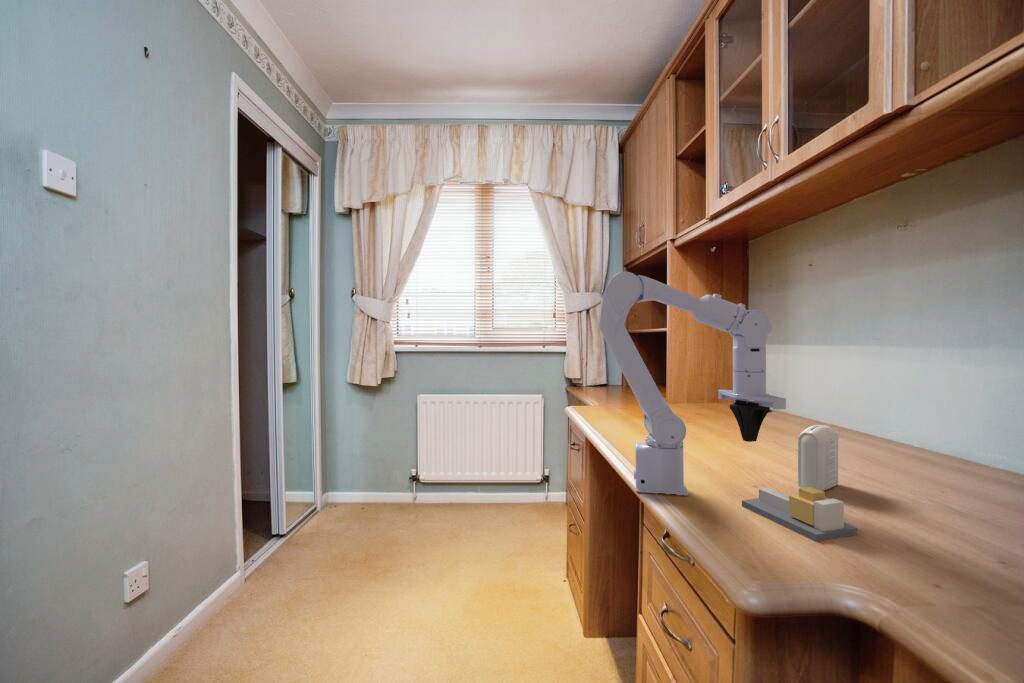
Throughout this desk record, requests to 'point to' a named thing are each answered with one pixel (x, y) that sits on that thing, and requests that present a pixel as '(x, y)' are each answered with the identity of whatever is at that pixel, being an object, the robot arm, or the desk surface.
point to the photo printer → (818, 458)
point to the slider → (805, 504)
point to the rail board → (825, 520)
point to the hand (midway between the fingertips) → (749, 440)
